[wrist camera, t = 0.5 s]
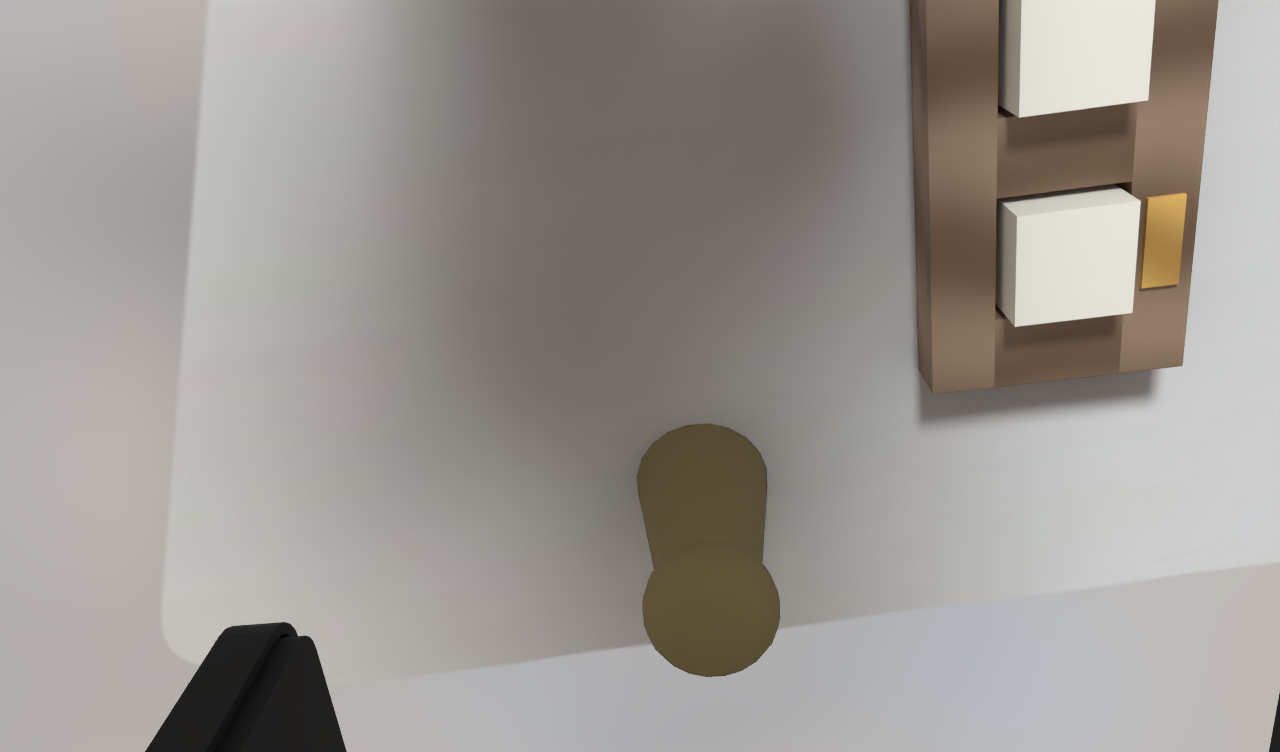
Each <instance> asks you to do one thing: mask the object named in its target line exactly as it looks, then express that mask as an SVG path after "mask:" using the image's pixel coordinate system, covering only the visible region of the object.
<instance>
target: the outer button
mask: <svg viewBox="0 0 1280 752" xmlns="http://www.w3.org/2000/svg"><path fill="white" fill-rule="evenodd" d="M1140 205H1141V201H1140V200H1139V199H1137V198H1135V197H1134V196H1132V195H1131V194H1129V193H1127V192H1126V191H1124V190H1123V189H1121V188H1119V187H1118V186H1116V185H1115V184H1107V185H1099V186H1092V187H1084V188H1076V189H1068V190H1060V191H1052V192H1045V193H1037V194H1029V195H1021V196H1013V197H1005V198H998V199H997V204H996V290H995V303H996V305H997V306H998V307H999V308H1000V310H1001V311H1002V312H1003V313H1004V314H1005V316H1006V317H1007V318H1008V319H1009V320H1010V322H1011V323H1012V324H1013V325H1014V326H1015V327H1018V326H1026V325H1035V324H1043V323H1052V322H1060V321H1069V320H1077V319H1086V318H1094V317H1103V316H1111V315H1120V314H1128V313H1133V300H1134V287H1135V273H1136V260H1137V246H1138V232H1139V219H1140Z"/></svg>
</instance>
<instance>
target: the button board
mask: <svg viewBox="0 0 1280 752" xmlns="http://www.w3.org/2000/svg"><path fill="white" fill-rule="evenodd" d="M1217 9H1218V0H1156V2H1155V16H1154V29H1153V43H1152V56H1151V70H1150V83H1149V97H1148V101H1140V102H1133V103H1125V104H1118V105H1110V106H1103V107H1095V108H1088V109H1080V110H1073V111H1065V112H1058V113H1050V114H1043V115H1035V116H1028V117H1020V118H1019V117H1017V116H1016V115H1014V114H1012V113H1011V112H1009V111H1007V110H1006V109H1004V108H1003V107H1001V106H999V105H998V29H999V0H910V13H911V55H912V98H913V140H914V183H915V225H916V267H917V310H918V352H919V370H920V372H921V374H922V375H923V377H924V379H925V381H926V383H927V385H928V386H929V388H930V390H931V392H932V394H940V393H949V392H957V391H966V390H975V389H984V388H993V387H1001V386H1010V385H1019V384H1028V383H1037V382H1046V381H1054V380H1063V379H1072V378H1081V377H1090V376H1098V375H1107V374H1116V373H1125V372H1134V371H1142V370H1151V369H1160V368H1169V367H1178V366H1182V364H1183V354H1184V344H1185V334H1186V323H1187V313H1188V303H1189V293H1190V283H1191V273H1192V263H1193V252H1194V242H1195V232H1196V222H1197V212H1198V202H1199V192H1200V182H1201V171H1202V161H1203V151H1204V141H1205V131H1206V121H1207V111H1208V100H1209V90H1210V80H1211V70H1212V60H1213V50H1214V40H1215V30H1216V19H1217ZM1107 184H1115V185H1116V186H1118V187H1119V188H1121V189H1123V190H1124V191H1126V192H1127V193H1129V194H1131V195H1132V196H1134V197H1135V198H1137V199H1139V200H1140V201H1141V205H1140V219H1139V232H1138V246H1137V260H1136V273H1135V287H1134V300H1133V313H1128V314H1120V315H1111V316H1103V317H1094V318H1086V319H1077V320H1069V321H1060V322H1052V323H1043V324H1035V325H1026V326H1018V327H1015V326H1014V325H1013V324H1012V323H1011V322H1010V320H1009V319H1008V318H1007V317H1006V316H1005V314H1004V313H1003V312H1002V311H1001V310H1000V308H999V307H998V306H997V305H996V303H995V288H996V201H997V199H998V198H1005V197H1013V196H1021V195H1029V194H1037V193H1045V192H1052V191H1060V190H1068V189H1076V188H1084V187H1092V186H1099V185H1107Z"/></svg>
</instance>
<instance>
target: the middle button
mask: <svg viewBox="0 0 1280 752" xmlns="http://www.w3.org/2000/svg"><path fill="white" fill-rule="evenodd" d="M1155 2H1156V0H999V31H998V105H999V106H1001V107H1003V108H1004V109H1006V110H1007V111H1009V112H1011V113H1012V114H1014V115H1016V116H1017V117H1019V118H1020V117H1028V116H1035V115H1043V114H1050V113H1058V112H1065V111H1073V110H1080V109H1088V108H1095V107H1103V106H1110V105H1118V104H1125V103H1133V102H1140V101H1148V97H1149V83H1150V70H1151V56H1152V43H1153V29H1154V16H1155Z"/></svg>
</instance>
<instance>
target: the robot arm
mask: <svg viewBox="0 0 1280 752" xmlns="http://www.w3.org/2000/svg"><path fill="white" fill-rule="evenodd" d="M145 752H346V748H345V745H344V742H343V738H342V735H341V731H340V728H339V724H338V721H337V718H336V714H335V711H334V707H333V704H332V701H331V697H330V694H329V690H328V687H327V684H326V680H325V677H324V673H323V670H322V667H321V663H320V660H319V656H318V653H317V650H316V647H315V644H314V642H313V640H312V639H311V638H310V637H308V636H298V635H297V633H296V630H295V629H294V628H293V627H292V625H291V624H289V623H285V622H282V623H268V624H255V625H241V626H232V627H229V628H227V629H225V630H224V631H223V632H222V634H221V635H220V636H219V638H218V639H217V641H216V642H215V644H214V645H213V647H212V648H211V650H210V652H209V653H208V655H207V656H206V658H205V659H204V661H203V662H202V664H201V666H200V667H199V669H198V670H197V672H196V673H195V675H194V676H193V678H192V680H191V681H190V683H189V684H188V686H187V687H186V689H185V690H184V692H183V694H182V695H181V697H180V698H179V700H178V702H177V703H176V704H175V706H174V708H173V709H172V711H171V712H170V714H169V716H168V717H167V719H166V720H165V722H164V723H163V725H162V726H161V728H160V729H159V731H158V732H157V734H156V736H155V737H154V739H153V740H152V742H151V743H150V745H149V747H148V748H147V750H146V751H145ZM1269 752H1280V694H1279V700H1278V706H1277V711H1276V716H1275V722H1274V727H1273V733H1272V738H1271V744H1270V750H1269Z"/></svg>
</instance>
